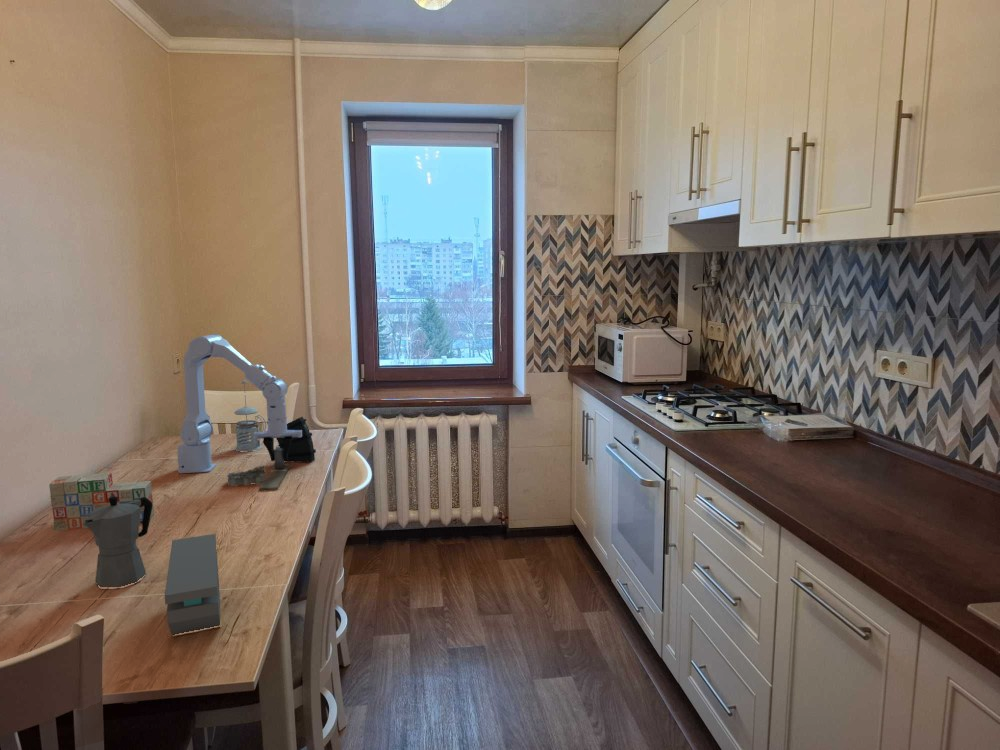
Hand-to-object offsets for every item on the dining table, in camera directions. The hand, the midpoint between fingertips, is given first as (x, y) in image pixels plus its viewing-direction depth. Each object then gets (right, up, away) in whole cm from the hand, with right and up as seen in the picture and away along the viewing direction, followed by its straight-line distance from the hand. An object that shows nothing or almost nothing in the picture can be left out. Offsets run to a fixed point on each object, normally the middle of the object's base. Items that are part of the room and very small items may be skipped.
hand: (279, 459), depth 215 cm
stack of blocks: (-30, -11, -43) cm, 54 cm away
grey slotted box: (+15, -18, -91) cm, 94 cm away
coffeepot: (-8, -15, -75) cm, 76 cm away
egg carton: (-6, -6, -11) cm, 14 cm away
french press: (-19, 0, +28) cm, 34 cm away
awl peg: (0, -3, 0) cm, 3 cm away
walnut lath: (+1, -5, -7) cm, 9 cm away
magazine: (+1, -2, +12) cm, 12 cm away
